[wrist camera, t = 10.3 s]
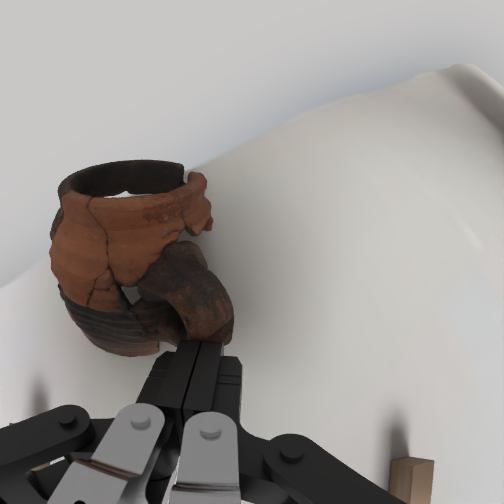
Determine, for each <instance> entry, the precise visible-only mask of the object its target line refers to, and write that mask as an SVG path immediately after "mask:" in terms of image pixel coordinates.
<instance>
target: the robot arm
mask: <svg viewBox="0 0 504 504" xmlns="http://www.w3.org/2000/svg"><path fill="white" fill-rule="evenodd" d="M241 394H242V364H241V363H240V361H239V359H238V358H237V357H233V356H224V344H223V342H212V341H198V340H186V339H181V340H180V342H179V345H178V347H177V350H176V352H170V351H166V352H164V353H163V354H162V355H161V356H159V357H158V358H157V359H156V361H155V363H154V365H153V367H152V370H151V371H150V373H149V377H148V378H147V380H146V382H145V384H144V386H143V388H142V390H141V392H140V395H139V397H138V399H137V401H136V403H135V404H132V405H129V406H127V407H125V408H123V409H122V410H121V411H120V412H119V413H118V415H117V416H116V418H110V419H90V417H89V414H88V413H87V411H86V410H85V409H83V408H82V407H80V406H77V405H63V406H60V407H57V408H54V409H52V410H49V411H47V412H44V413H42V414H39V415H36V416H34V417H31V418H29V419H26V420H23V421H20V422H18V423H15V424H12V425H9V426H7V427H4V428H1V429H0V504H167V502H168V499H169V504H241V500H244V501H247V502H251V503H254V504H407V503H405V502H404V501H402V500H400V499H399V498H397V497H395V496H393V495H392V494H390V493H388V492H387V491H385V490H384V489H382V488H380V487H379V486H377V485H376V484H374V483H372V482H371V481H369V480H368V479H366V478H365V477H363V476H362V475H360V474H359V473H357V472H356V471H354V470H353V469H351V468H350V467H348V466H347V465H345V464H344V463H342V462H341V461H340V460H338V459H337V458H335V457H334V456H332V455H331V454H330V453H328V452H327V451H325V450H324V449H323V448H321V447H320V446H319V445H317V444H316V443H315V442H313V441H312V440H310V439H309V438H307V437H305V436H302V435H298V434H283V435H279V436H276V437H274V438H273V439H271V440H270V441H269V440H265V439H262V438H258V437H255V436H253V435H251V434H249V433H248V432H246V431H245V430H244V429H243V427H242V426H241V424H240V411H241ZM62 456H64V458H65V459H64V460H62V461H59V462H57V463H54V464H52V465H50V466H47V467H45V468H42V469H40V470H36V471H33V470H31V469H33V468H36V467H38V466H41V465H43V464H46V463H48V462H50V461H53V460H55V459H58V458H60V457H62ZM179 456H180V462H179V469H178V477H177V483H176V485H173V484H174V481H175V478H176V475H177V470H176V466H177V462H178V457H179ZM169 496H170V497H169Z"/></svg>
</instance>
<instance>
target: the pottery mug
mask: <svg viewBox="0 0 504 504" xmlns="http://www.w3.org/2000/svg"><path fill="white" fill-rule="evenodd" d="M183 175H184V166H183V165H182V164H179V163H174V162H168V161H159V160H129V161H117V162H110V163H105V164H100V165H96V166H91V167H88V168H86V169H82V170H80V171H77V172H75V173H73V174H71V175H69V176H68V177H67V178H66V179H64V180H63V181H62V182H61V184H60V185H59V187H58V196H59V199H60V205H61V207H60V209H59V210H58V212H57V214H56V216H55V219H54V221H53V223H52V228H51V231H50V237H51V240H52V246H51V249H50V252H49V254H50V257H51V270H52V272H53V274H54V275H55V277H56V278H57V279H58V282H59V284H58V288H59V290H60V295H61V298H62V299H63V300H64V301H65V305H66V308H67V310H68V312H69V314H70V317H71V318H72V320H73V321H74V322H75V323H76V325H77V326H78V327H80V328H81V330H82V331H83V333H84V334H85V336H86V337H87V338H88V339H89V340H90V341H91V342H92V343H93V344H94V345H96V346H97V347H99V348H101V349H103V350H105V351H106V352H109V353H113V354H117V355H120V356H127V357H136V356H144V355H150V354H154V353H158V352H159V347H158V340H160V341H162V342H168V343H170V344H172V345H174V346H176V347H178V345H179V342H180V340H181V339H186V340H198V341H212V342H223V344H224V346H225V345H227V344H228V343H229V342H230V341H231V339H232V333H233V325H234V313H233V306H232V303H231V300H230V297H229V295H228V293H227V291H226V289H225V288H224V287H223V285H222V284H221V282H220V281H219V280H218V278H217V277H216V276H215V275H214V274H213V273H212V272H211V271H209V270H208V269H207V263H206V261H205V259H204V257H203V255H202V253H201V251H200V249H199V247H198V246H197V245H196V244H194V243H193V242H190V241H181V242H177V238H178V237H179V235H180V233H181V232H182V231H183V230H184V229H185V230H186V231H187V232H188V233H189V234H190V235H191V236H194V237H195V236H198V235H199V234H200V233H201V231H202V230H205V231H211V230H212V223H213V219H212V217H211V214H210V212H211V203H210V202H209V200H208V199H207V198H205V197H204V191H205V189H206V187H207V180H206V178H205V177H204V175H203V174H201V173H196V172H190V173H189V174H188V183H187V184H186V183H184V181H183ZM124 191H128V193H129V194H153V195H145V196H134V197H121V198H104V197H106V196H115V195H118V194H120V193H122V192H124ZM121 286H126V287H134V286H137V287H138V293H139V295H140V296H141V298H140V299H139V300H138V301H137V302H135V304H133V305H132V304H130V303H129V301H128V299H127V298H126V296H125V294H124V292H123V291H122V289H121Z"/></svg>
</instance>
